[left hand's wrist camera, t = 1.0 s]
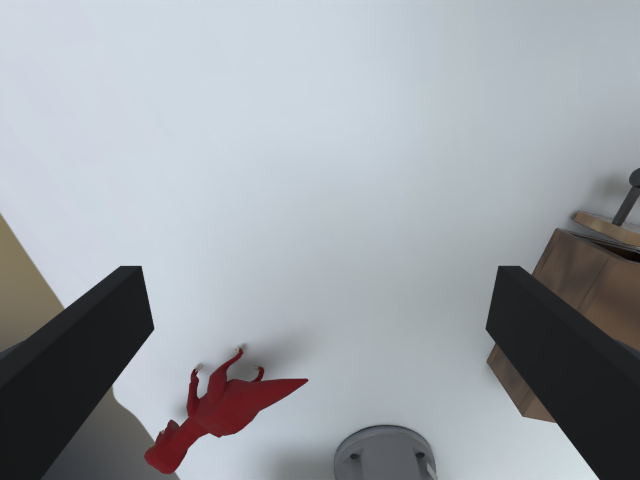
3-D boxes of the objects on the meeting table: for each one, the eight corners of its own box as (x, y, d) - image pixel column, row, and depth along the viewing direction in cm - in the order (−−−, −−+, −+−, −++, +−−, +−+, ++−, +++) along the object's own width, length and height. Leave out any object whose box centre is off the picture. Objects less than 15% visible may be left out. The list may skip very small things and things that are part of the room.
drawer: (605, 160, 35) (667, 171, 29) (683, 180, 36) (761, 196, 30) (506, 344, 44) (538, 384, 37) (571, 357, 44) (613, 399, 38)
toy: (202, 342, 51) (121, 441, 42) (293, 336, 32) (181, 514, 23) (237, 371, 53) (166, 472, 44) (341, 382, 34) (255, 562, 26)
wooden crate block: (556, 228, 39) (618, 260, 31) (636, 247, 40) (718, 283, 32) (486, 361, 46) (522, 416, 38) (556, 375, 47) (606, 432, 39)
